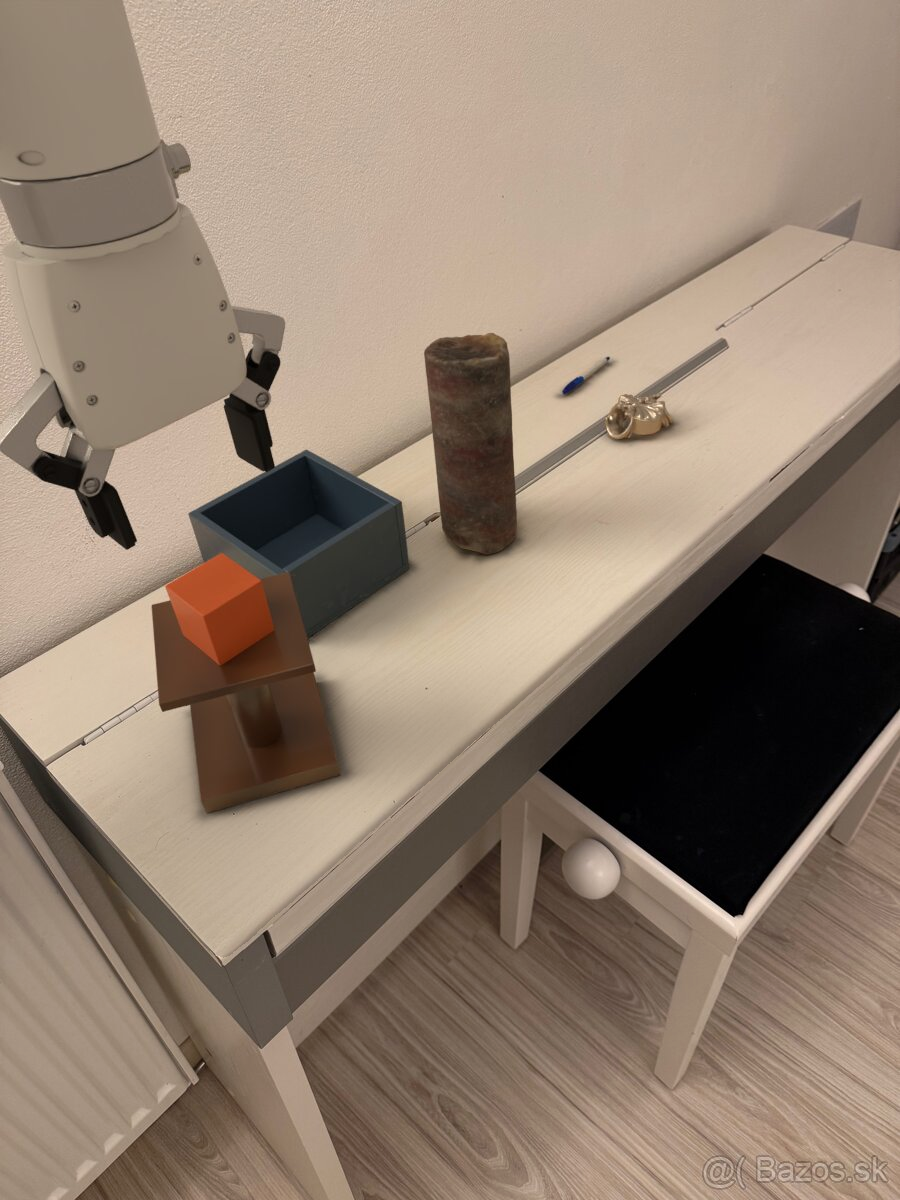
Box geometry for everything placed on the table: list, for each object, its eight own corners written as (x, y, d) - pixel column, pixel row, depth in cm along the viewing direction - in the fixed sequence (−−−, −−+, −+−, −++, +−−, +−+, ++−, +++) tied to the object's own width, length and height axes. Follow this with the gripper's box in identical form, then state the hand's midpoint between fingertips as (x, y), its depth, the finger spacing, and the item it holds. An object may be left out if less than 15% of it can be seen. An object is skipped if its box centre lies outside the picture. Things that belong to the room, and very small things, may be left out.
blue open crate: (297, 645, 75) (280, 577, 69) (209, 579, 82) (187, 513, 77) (410, 568, 81) (402, 501, 76) (319, 513, 89) (306, 448, 84)
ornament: (649, 404, 101) (652, 376, 99) (683, 431, 96) (687, 402, 94) (589, 422, 99) (591, 393, 97) (621, 450, 94) (624, 421, 92)
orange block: (220, 666, 56) (203, 616, 53) (182, 635, 59) (164, 585, 56) (275, 630, 59) (261, 580, 56) (237, 601, 61) (221, 552, 58)
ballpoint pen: (567, 396, 103) (567, 389, 103) (561, 394, 104) (561, 387, 103) (610, 361, 109) (611, 353, 109) (604, 359, 110) (604, 352, 109)
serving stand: (205, 813, 62) (158, 704, 54) (194, 713, 69) (150, 604, 61) (340, 775, 64) (314, 663, 56) (315, 681, 71) (289, 571, 63)
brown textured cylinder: (428, 548, 84) (409, 356, 70) (456, 505, 88) (443, 319, 75) (502, 563, 81) (497, 368, 68) (527, 518, 86) (527, 328, 73)
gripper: (202, 139, 46) (269, 419, 58) (-129, 240, 38) (27, 544, 49) (287, 161, 42) (341, 457, 54) (-62, 279, 34) (91, 601, 45)
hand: (191, 498), depth 51 cm, fingers open, 9 cm apart
